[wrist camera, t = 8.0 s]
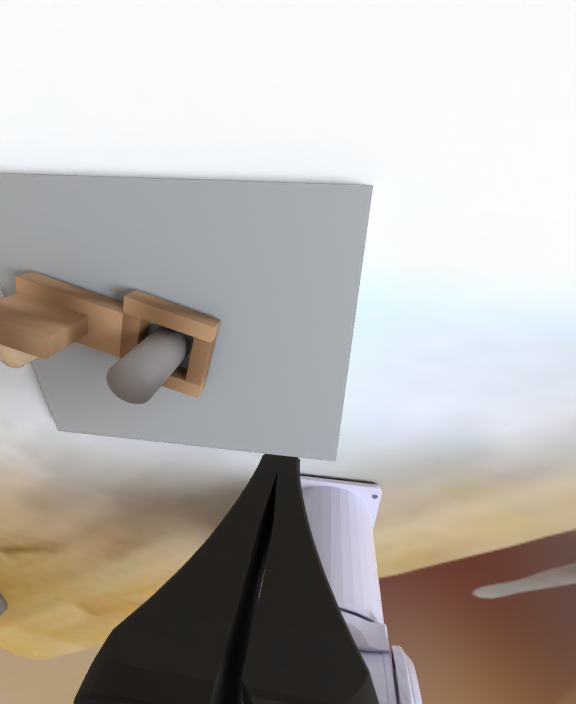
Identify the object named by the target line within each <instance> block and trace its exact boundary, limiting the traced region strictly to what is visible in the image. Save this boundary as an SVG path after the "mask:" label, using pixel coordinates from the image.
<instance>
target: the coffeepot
mask: <svg viewBox="0 0 576 704" xmlns="http://www.w3.org/2000/svg"><path fill="white" fill-rule="evenodd" d="M6 610H7V603H6V600H5V599H4V598H3V596H2V595H1V594H0V616H1V615H2V614H3V613H4V612H5V611H6Z"/></svg>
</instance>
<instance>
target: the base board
mask: <svg viewBox="0 0 576 704" xmlns="http://www.w3.org/2000/svg"><path fill="white" fill-rule="evenodd" d="M372 189H373V185H345V184H314V183H283V182H252V181H222V180H191V179H160V178H129V177H98V176H67V175H36V174H6V173H0V286H1V289H2V291H3V294H4V296H5V297H8V296H11V295H14V294H17V291H16V281H15V276H18V275H22V274H25V273H29V272H32V271H33V272H36V273H39V274H42V275H45V276H48V277H50V278H53V279H56V280H59V281H62V282H65V283H68V284H71V285H73V286H76V287H79V288H82V289H85V290H88V291H91V292H94V293H96V294H99V295H102V296H105V297H108V298H111V299H114V300H116V301H119V302H122V303H124V296H125V295H127V294H129V293H131V292H133V291H135V290H138V291H141V292H143V293H146V294H149V295H152V296H155V297H158V298H161V299H163V300H166V301H169V302H172V303H175V304H178V305H180V306H183V307H186V308H189V309H192V310H195V311H198V312H200V313H203V314H206V315H209V316H212V317H215V318H217V319H220V320H221V322H220V326H219V330H218V334H217V338H216V343H215V347H214V351H213V355H212V359H211V363H210V367H209V371H208V375H207V379H206V384H205V388H204V389H203V391H202V393H201V394H200V396H199V397H198V398H195V397H192V396H189V395H186V394H183V393H180V392H177V391H175V390H172V389H169V388H166V387H163V386H162V385H163V383H164V382H165V381H166V380H167V379H168V378H169V376H170V375H171V374H172V373H173V372H174V370H175V369H176V368H177V367H178V366H180V367H183V368H185V369H188V365H189V360H190V355H191V350H192V346H193V341H194V337H193V336H190V335H187V334H184V333H181V332H178V331H176V330H173V329H170V328H167V327H164V326H161V325H158V324H155V323H152V322H150V321H149V328H148V336H147V338H145V339H144V340H143V341H142V342H140V343H139V344H138V345H137V346H136V347H134V348H133V349H132V350H131V351H130V352H128V353H127V354H126V355H125V356H124V357H122V358H121V359H120V360H119V358H120V357H117V356H115V355H112V354H109V353H106V352H103V351H100V350H97V349H94V348H91V347H88V346H85V345H82V344H79V343H76V342H74V343H72V344H70V345H69V346H67V347H65V348H64V349H62V350H60V351H59V352H57V353H56V354H54V355H52V356H51V357H49V358H47V359H46V360H45V359H42V358H39V357H36V356H33V355H30V354H27V353H24V352H21V351H18V350H15V349H12V348H9V347H6V346H3V345H0V360H1V361H2V362H3V363H4V364H6V365H7V366H9V367H12V368H20V367H22V366H24V365H26V364H27V363H29V362H31V364H32V367H33V369H34V372H35V374H36V377H37V379H38V382H39V384H40V387H41V389H42V392H43V394H44V397H45V399H46V402H47V404H48V407H49V409H50V412H51V414H52V417H53V419H54V422H55V424H56V427H57V429H58V431H65V432H74V433H83V434H92V435H101V436H110V437H119V438H128V439H137V440H146V441H155V442H164V443H174V444H183V445H192V446H201V447H210V448H219V449H228V450H237V451H246V452H255V453H264V454H273V455H282V456H291V457H300V458H309V459H318V460H327V461H336V454H337V447H338V440H339V432H340V425H341V417H342V410H343V403H344V395H345V388H346V381H347V373H348V366H349V359H350V351H351V344H352V336H353V329H354V322H355V314H356V307H357V300H358V292H359V285H360V277H361V270H362V263H363V255H364V248H365V241H366V233H367V226H368V218H369V211H370V204H371V196H372Z"/></svg>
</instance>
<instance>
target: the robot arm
mask: <svg viewBox="0 0 576 704" xmlns="http://www.w3.org/2000/svg"><path fill="white" fill-rule="evenodd" d="M381 494H382V490H381V487H380V486H379V485H376V484H368V483H359V482H350V481H342V480H333V479H324V478H316V477H307V476H300V459H299V458H298V457H291V456H282V455H273V454H265V455H263V456H262V459H261V461H260V463H259V465H258V467H257V469H256V471H255V472H254V474H253V476H252V478H251V479H250V481H249V483H248V484H247V486H246V487H245V489H244V490H243V492H242V494H241V495H240V497H239V498H238V500H237V501H236V503H235V504H234V505H233V507H232V508H231V510H230V511H229V512H228V514H227V515H226V516H225V518H224V519H223V520H222V522H221V523H220V524H219V526H218V527H217V528H216V529H215V531H214V532H213V533H212V534H211V535H210V537H209V538H208V539H207V540H206V541H205V543H204V544H203V545H202V546H201V547H200V548H199V549H198V550H197V551H196V553H195V554H194V555H193V556H192V557H191V558H190V559H189V560H188V561H187V562H186V563H185V564H184V565H183V567H182V568H181V569H180V570H179V571H178V572H177V573H176V574H175V575H173V576H172V577H171V578H170V579H169V580H168V581H167V582H166V583H165V584H164V585H163V586H162V587H161V588H160V589H159V590H158V591H157V592H156V593H155V594H154V595H153V596H151V597H150V598H149V599H148V600H147V601H146V602H145V603H144V604H142V605H141V606H140V607H139V608H138V609H137V610H135V611H134V612H133V613H132V614H131V615H130V616H128V617H127V618H126V619H125V620H124V621H123V622H121V623H120V624H119V625H118V626H117V627H115V628H114V629H113V631H112V632H111V633H110V635H109V636H108V638H107V639H106V641H105V643H104V644H103V646H102V647H101V649H100V651H99V652H98V654H97V656H96V657H95V659H94V661H93V663H92V664H91V666H90V668H89V670H88V673H87V674H86V676H85V678H84V681H83V682H82V685H81V687H80V689H79V691H78V693H77V695H76V697H75V700H74V704H422V700H421V695H420V690H419V686H418V681H417V676H416V672H415V668H414V665H413V662H412V661H411V660H410V658H409V657H408V656H407V655H406V654H404V651H403V649H402V648H401V647H400V646H391V647H392V648H391V652H392V664H393V671H392V664H391V658H390V651H389V643H388V635H387V627H386V625H385V624H384V621H383V614H382V605H381V596H380V588H379V581H378V572H377V564H376V555H375V547H374V539H373V527H374V523H375V519H376V515H377V511H378V506H379V502H380V498H381ZM265 566H266V567H265ZM263 575H264V576H263ZM262 579H263V581H262ZM261 583H262V586H261ZM260 588H261V591H260ZM259 593H260V596H259ZM258 599H259V600H258Z"/></svg>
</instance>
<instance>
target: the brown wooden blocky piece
mask: <svg viewBox="0 0 576 704" xmlns="http://www.w3.org/2000/svg"><path fill="white" fill-rule="evenodd" d="M15 281H16V291H17V294H14V295H11V296H8V297H5V298H2V299H0V345H3V346H6V347H9V348H12V349H15V350H18V351H21V352H24V353H27V354H30V355H33V356H36V357H39V358H42V359H45V360H46V359H47V358H49V357H51V356H52V355H54V354H56V353H57V352H59V351H60V350H62V349H64V348H65V347H67V346H69V345H70V344H72V343H74V342H76V343H79V344H82V345H85V346H88V347H91V348H94V349H97V350H100V351H103V352H106V353H109V354H112V355H115V356H117V357H120V358H119V360H120V359H121V358H122V357H124V356H125V355H126V354H127V353H128V352H130V351H131V350H132V349H133V348H134V347H136V346H137V345H138V344H139V343H140V342H142V341H143V340H144V339H145V338H147V336H148V328H149V321H150V322H152V323H155V324H158V325H161V326H164V327H167V328H170V329H173V330H176V331H178V332H181V333H184V334H187V335H190V336H193V337H194V341H193V346H192V350H191V355H190V360H189V365H188V369H185V368H183V367H180V366H178V367H177V368H176V369H175V370H174V372H173V373H172V374H171V375H170V376H169V378H168V379H167V380H166V381H165V382H164V383H163V385H162V386H163V387H166V388H169V389H172V390H175V391H177V392H180V393H183V394H186V395H189V396H192V397H195V398H198V397H199V396H200V394H201V393H202V391H203V389H204V388H205V384H206V379H207V375H208V371H209V367H210V363H211V359H212V355H213V351H214V347H215V343H216V338H217V334H218V330H219V326H220V322H221V320H220V319H217V318H215V317H212V316H209V315H206V314H203V313H200V312H198V311H195V310H192V309H189V308H186V307H183V306H180V305H178V304H175V303H172V302H169V301H166V300H163V299H161V298H158V297H155V296H152V295H149V294H146V293H143V292H141V291H138V290H135V291H133V292H131V293H129V294H127V295H125V296H124V303H122V302H119V301H116V300H114V299H111V298H108V297H105V296H102V295H99V294H96V293H94V292H91V291H88V290H85V289H82V288H79V287H76V286H73V285H71V284H68V283H65V282H62V281H59V280H56V279H53V278H50V277H48V276H45V275H42V274H39V273H36V272H33V271H32V272H29V273H25V274H22V275H18V276H15Z"/></svg>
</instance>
